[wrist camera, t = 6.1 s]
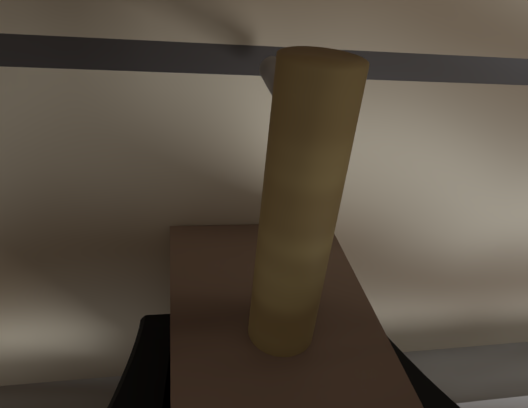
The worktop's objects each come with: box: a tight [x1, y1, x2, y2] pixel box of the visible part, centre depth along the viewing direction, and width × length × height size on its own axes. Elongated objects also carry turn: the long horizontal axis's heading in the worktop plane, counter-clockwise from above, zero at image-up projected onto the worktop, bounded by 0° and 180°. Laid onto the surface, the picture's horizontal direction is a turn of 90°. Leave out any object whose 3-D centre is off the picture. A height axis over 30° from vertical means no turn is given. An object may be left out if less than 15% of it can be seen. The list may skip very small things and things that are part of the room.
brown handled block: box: [170, 46, 424, 408], centre depth 9 cm, size 10×4×6 cm, turn 175°
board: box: [0, 0, 528, 408], centre depth 11 cm, size 13×28×4 cm, turn 85°
